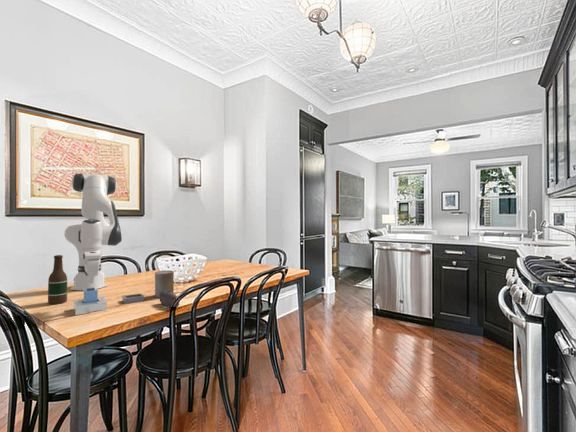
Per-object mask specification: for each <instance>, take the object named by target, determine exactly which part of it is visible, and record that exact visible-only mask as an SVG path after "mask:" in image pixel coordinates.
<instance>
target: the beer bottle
mask: <svg viewBox="0 0 576 432" xmlns="http://www.w3.org/2000/svg"><path fill="white" fill-rule="evenodd" d="M63 258H64V257H63V255H62V254H56V255H54V256H53V270H52V272H51V273H50V275H49V276H48V281H47V282H48V287H47V290H48V291H47V303H48V305H52V306H53V305H55V306H57V305H61V304H64V303H66V302H67V301H68V276H67V274H66V272H65V271H64V266H63V265H64V264H63Z"/></svg>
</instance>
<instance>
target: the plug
mask: <svg viewBox="0 0 576 432" xmlns="http://www.w3.org/2000/svg"><path fill="white" fill-rule="evenodd" d="M98 290H99V289H95V288H94V287H93V288H87V290H83V299H84V303H90V302H97V297H99V296H98V293H99V292H98Z"/></svg>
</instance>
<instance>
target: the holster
mask: <svg viewBox="0 0 576 432" xmlns="http://www.w3.org/2000/svg"><path fill="white" fill-rule="evenodd" d="M122 302H123V303H124V304H125V305H127V304H132V303H141V302H145V295H143V293H135V294H134V293H133V294H125V295H122Z"/></svg>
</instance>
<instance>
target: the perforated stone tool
mask: <svg viewBox="0 0 576 432" xmlns="http://www.w3.org/2000/svg"><path fill="white" fill-rule="evenodd" d="M176 297H178V296H177V295H176V294H175V293H174V292H173V293H172V292H170V291H166V290H165V291H162V292H161V293H160V298H158V299H159V302H160V303H161V304H162V305H163V306H166V307H168V308H171V306H172V304H173V302H174V300H175V299H176ZM179 306H180V301H179V302H178V304H177V305H176V308H175V309H177V308H178V307H179Z"/></svg>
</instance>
